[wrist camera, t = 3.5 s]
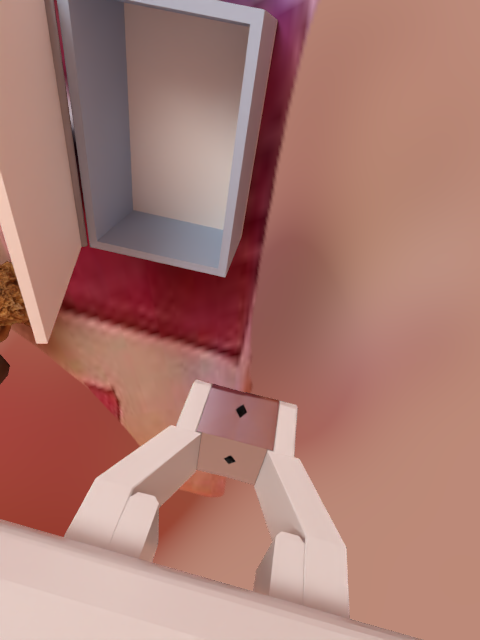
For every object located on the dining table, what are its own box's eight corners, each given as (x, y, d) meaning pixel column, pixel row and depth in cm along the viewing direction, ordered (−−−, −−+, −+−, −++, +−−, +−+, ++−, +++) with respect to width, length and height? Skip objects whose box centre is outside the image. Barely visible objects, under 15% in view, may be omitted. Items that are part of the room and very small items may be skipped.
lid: (55, 343, 24) (34, 343, 24) (88, 242, 35) (74, 242, 35) (-50, -71, 12) (-96, -82, 12) (51, -28, 23) (28, -32, 22)
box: (241, 237, 42) (225, 277, 34) (129, 212, 42) (90, 246, 35) (277, 20, 29) (264, 9, 22) (118, -11, 30) (52, -32, 22)
